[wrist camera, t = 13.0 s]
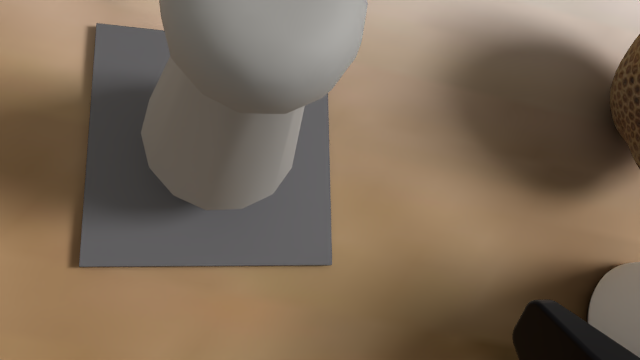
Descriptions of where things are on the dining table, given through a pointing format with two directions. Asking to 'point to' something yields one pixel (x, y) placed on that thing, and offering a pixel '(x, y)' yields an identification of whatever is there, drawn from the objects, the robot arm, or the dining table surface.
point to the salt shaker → (242, 91)
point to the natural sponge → (628, 99)
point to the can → (618, 306)
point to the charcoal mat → (172, 212)
